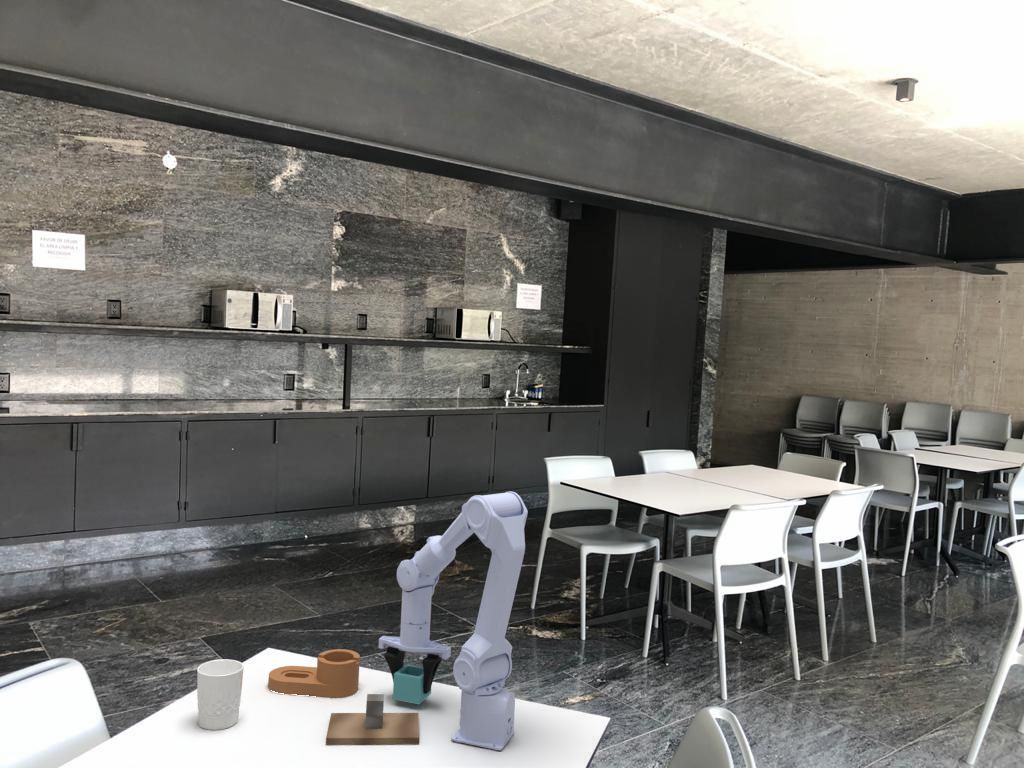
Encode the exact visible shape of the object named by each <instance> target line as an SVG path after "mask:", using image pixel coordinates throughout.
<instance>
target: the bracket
mask: <svg viewBox="0 0 1024 768" xmlns="http://www.w3.org/2000/svg"><path fill="white" fill-rule="evenodd" d="M360 659H361V655H360V654H359V652H357V651H354V650H351V649H345V648H344V649H342V648H337V649H328V650H325V651H322V652H319V654H318V657H317V660H316V661H317V662H316V667H315V666H304V665H303V666H302V665H285V666H279V667H277V668H274V669H272V670H270V671H269V673H268V680H267V681H268V683H267V688H268V687H269V689H270V690H272V691H275V692H278V693H284V694H297V695H309V696H308V697H310V696H316V697H315V698H325V699H326V698H327V699H343V698H348V697H351V696H353V695H356V694H357V693H358V691H359V681H360V680H359V679H360V678H359V677H360V661H361V660H360ZM269 689H268V690H269ZM270 690H269V691H270Z"/></svg>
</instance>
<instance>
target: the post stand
mask: <svg viewBox="0 0 1024 768" xmlns="http://www.w3.org/2000/svg"><path fill="white" fill-rule="evenodd" d="M384 701H385V694H384V693H367V695H366V705H365V709H366V710H365V712H330V717H329V722H328V727H327V732H326V737H325V746H353V745H354V746H356V745H357V746H358V745H360V746H365V745H367V746H368V745H369V746H371V745H372V746H373V745H376V746H378V745H379V746H380V745H382V746H385V745H419V744H420V723H419V722H420V721H419V720H420V719H419V717H420V716H419V712H384V706H385V705H384V703H385V702H384Z"/></svg>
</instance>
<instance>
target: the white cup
mask: <svg viewBox="0 0 1024 768" xmlns="http://www.w3.org/2000/svg"><path fill="white" fill-rule="evenodd" d="M244 667H245V666H244V664H243V663H242V662H241V661H239V660H235V659H226V658H225V659H223V658H222V659H213V660H209V661H207V662H203V663H202V664H200V665H198V667H197V669H196V670H197V671H196V672H197V673H196V674H197V675H196V677H197V679H196V680H197V683H196V685H197V689H196V690H197V691H196V693H197V694H196V695H197V697H196V698H197V710H198V711H197V712H198V713H197V714H198V715H197V717H198V718H197V722H198V723H197V724H198V725H199V727H200V728H203V729H204V730H210V731H211V730H212V731H217V730H218V731H219V730H224V729H229V728H232V727H233V726H235V725H236V724H237V723H238V721H239V713H240V706H241V697H242V689H243V679H244V677H243V676H244Z"/></svg>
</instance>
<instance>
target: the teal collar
mask: <svg viewBox="0 0 1024 768" xmlns="http://www.w3.org/2000/svg"><path fill="white" fill-rule="evenodd" d="M423 683H424V671H423V666H419V665H413V664H408V663H405V665H404V664H403V667H402V668H401V669H399V670H398V671H397V672H396V673H394V683H393V685H392V700H393V701H401V702H406V703H409V704H416V705H421V704H422V703H423V702H424V701H425V700H426V699H427V698H428V697H429V696H431V694H432V690H431V691H429V692H428V693H427V694H424V693H423Z"/></svg>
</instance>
